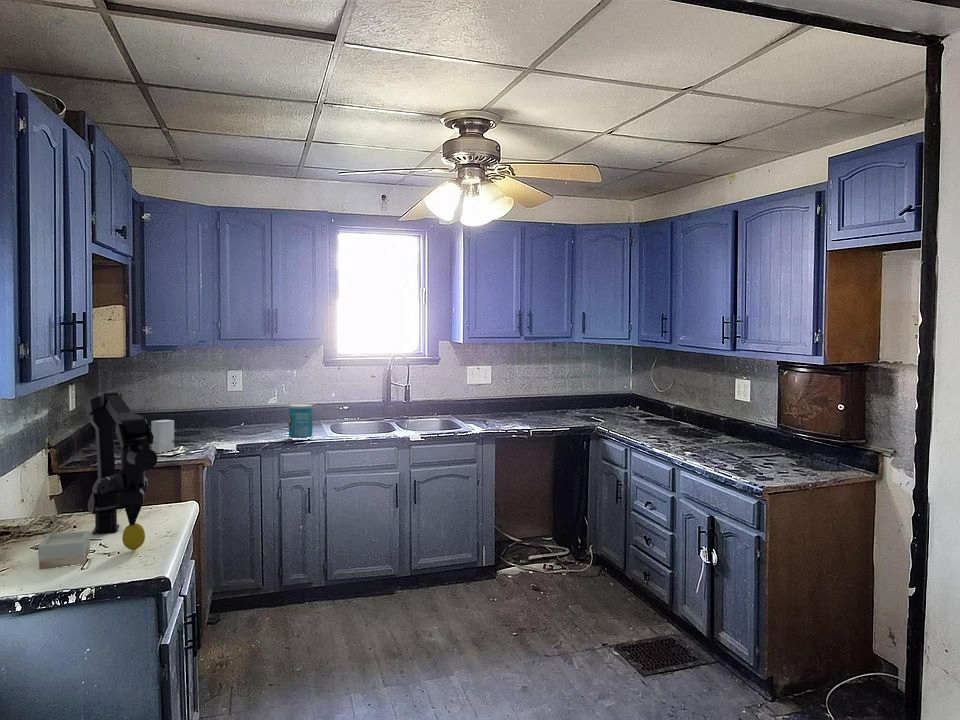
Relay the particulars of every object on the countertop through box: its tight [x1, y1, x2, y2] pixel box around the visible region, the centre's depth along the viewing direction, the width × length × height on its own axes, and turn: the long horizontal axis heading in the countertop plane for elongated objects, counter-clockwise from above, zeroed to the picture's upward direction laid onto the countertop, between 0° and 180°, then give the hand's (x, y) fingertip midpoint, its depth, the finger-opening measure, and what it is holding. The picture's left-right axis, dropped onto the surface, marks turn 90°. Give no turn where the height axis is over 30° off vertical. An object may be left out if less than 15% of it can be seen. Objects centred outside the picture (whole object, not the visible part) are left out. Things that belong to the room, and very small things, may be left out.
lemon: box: [121, 522, 146, 551], centre depth 187 cm, size 6×6×8 cm
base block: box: [38, 543, 91, 570], centre depth 179 cm, size 10×10×3 cm
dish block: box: [37, 530, 91, 561], centre depth 179 cm, size 10×10×4 cm
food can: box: [288, 403, 313, 438], centre depth 357 cm, size 12×12×18 cm
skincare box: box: [150, 419, 175, 454], centre depth 317 cm, size 8×6×15 cm
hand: (133, 520), depth 187 cm, fingers open, 9 cm apart
